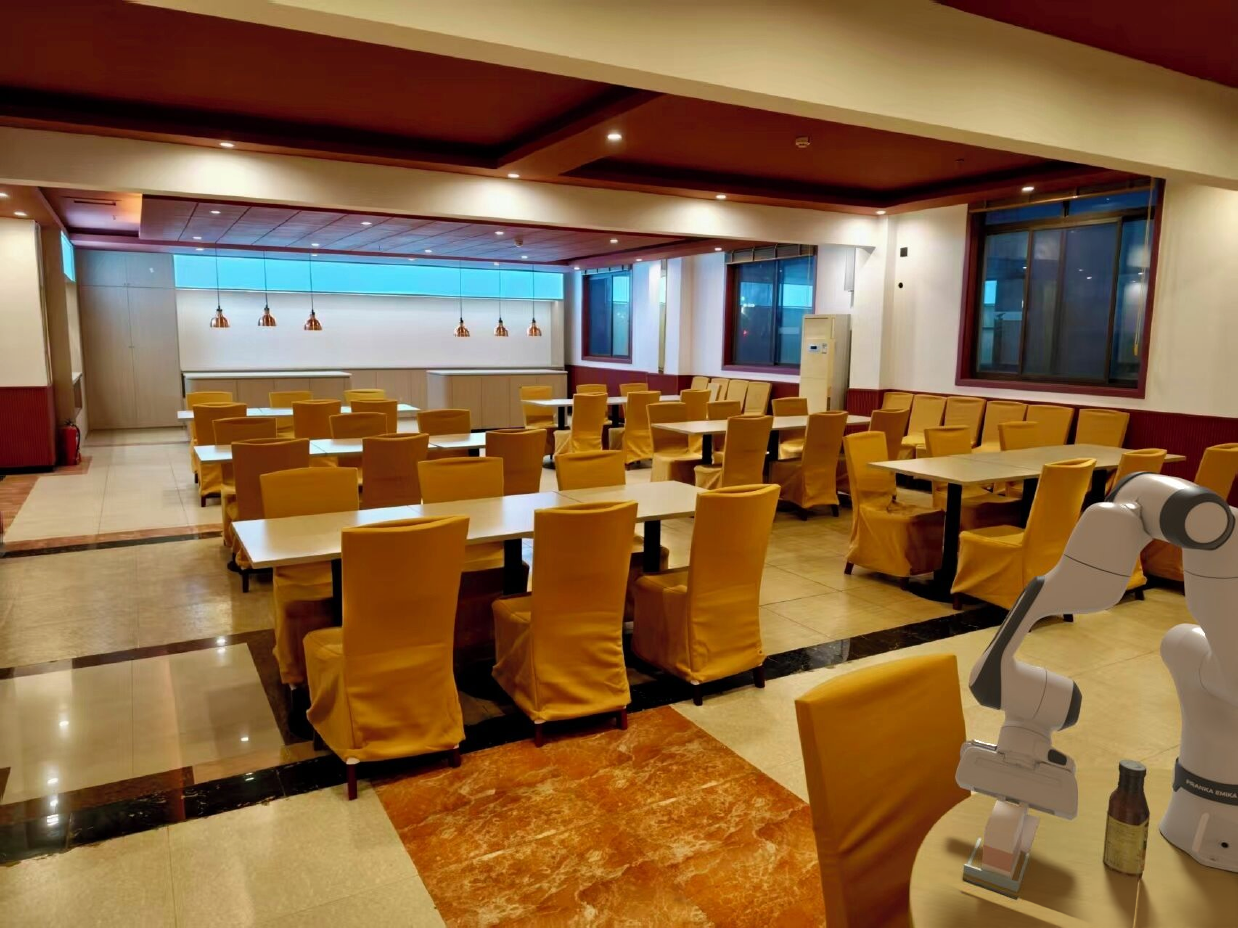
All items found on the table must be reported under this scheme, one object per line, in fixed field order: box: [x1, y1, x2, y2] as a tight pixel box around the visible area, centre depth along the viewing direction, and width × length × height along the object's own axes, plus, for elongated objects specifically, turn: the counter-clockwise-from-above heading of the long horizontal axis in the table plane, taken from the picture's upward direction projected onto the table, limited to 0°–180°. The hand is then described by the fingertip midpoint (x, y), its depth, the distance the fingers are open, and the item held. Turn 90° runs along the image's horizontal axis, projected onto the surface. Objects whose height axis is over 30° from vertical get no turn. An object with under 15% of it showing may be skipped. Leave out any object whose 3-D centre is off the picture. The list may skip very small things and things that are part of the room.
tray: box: [962, 837, 1031, 901], centre depth 147 cm, size 8×12×3 cm
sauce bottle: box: [1102, 759, 1151, 882], centre depth 146 cm, size 7×6×20 cm
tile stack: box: [980, 799, 1025, 880], centre depth 146 cm, size 4×10×10 cm, turn 146°
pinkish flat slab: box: [1020, 813, 1041, 854], centre depth 158 cm, size 7×14×2 cm, turn 146°
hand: (1008, 826), depth 151 cm, fingers closed, pressing on tile stack
